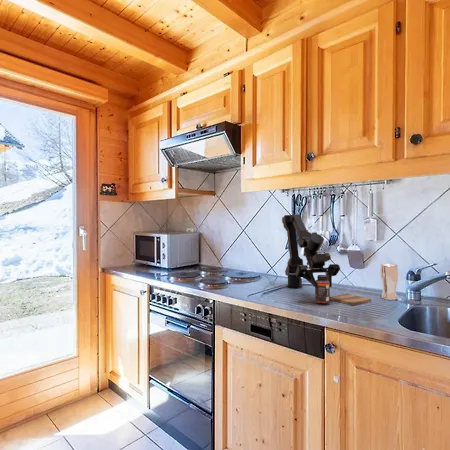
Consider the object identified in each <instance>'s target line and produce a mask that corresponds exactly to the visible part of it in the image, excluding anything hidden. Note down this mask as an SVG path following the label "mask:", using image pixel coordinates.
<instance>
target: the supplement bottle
mask: <svg viewBox="0 0 450 450" xmlns="http://www.w3.org/2000/svg"><path fill="white" fill-rule="evenodd" d="M316 277H317V279H315V281H316V283H317V288H315V287H314V298H315V299H314V300H315V302H317V303H319V304H328V303H330V301H331V300H330V297H331V289H330V288H331V287H330V282H329V281H328V280H327V275H326V274H318V275H316Z"/></svg>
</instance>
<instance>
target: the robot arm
mask: <svg viewBox="0 0 450 450" xmlns="http://www.w3.org/2000/svg"><path fill="white" fill-rule="evenodd" d="M281 223H282V226H283V228H284V229H285V231H286V232H287V234H286V235H287V243H288V244H287V245H288V252H289V253H288V254H289V258H288V261H287V263H286V264H287V265H286V268H285V270H284V275H285V276H286V277H287V285H286V288H291V289H299V288H303V285H302V283H303V281H302V280H303V279H304V280H306V281H307V282H308V283H310V284H311V285H312V286H313V287H314V289H315V288H317V283H316V279H315V276H314V274H321V273H324V275H327V280H328V281H329V282H330V288H332V286H333V282H332V281H333V279H332V277H335V276H337V275H338V273H339V271H340V270H341V266H340V265H339V264H338V263H332V264H329V265H328V267H325V266H326V262H329V261H330V260H331V259H332V258H331V253H330V252H325V253H318V251H320V249H321V247H322V245H323V243H324V241H325V239H324V236H322V235H320V234H319V233H318V232H316V231H315V232H311V231H310V232H309V231H308V230H307V228H306V225H305V223H304V222H303V219H302V215H301V214H298V213H297V214H294V213H293V214H284V216H282V218H281ZM297 236H298V237H297ZM298 246H299V247H298ZM299 248H302V249H303V248H304V249H303V254H302V255H303V257H305V258H306V259H305V260H306V261H307V262H306V264H304V260H303V258H301V257H300V255H299Z"/></svg>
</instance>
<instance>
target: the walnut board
mask: <svg viewBox="0 0 450 450" xmlns="http://www.w3.org/2000/svg"><path fill="white" fill-rule="evenodd" d="M330 301H334V302H338V303H340V304H343V305H349V306H351V307H354V306H358V305H362V304H367V303H370V302H372V299H371V298H369V297H364V296H360V295H356V294H352V293H343V294H342V293H341V294H337V295H334V296H333V295H332V296H330Z"/></svg>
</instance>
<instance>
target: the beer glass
mask: <svg viewBox="0 0 450 450" xmlns="http://www.w3.org/2000/svg"><path fill="white" fill-rule="evenodd" d="M379 272H380V273H379V274H380V280H381V287H382V294H381V298H382V299H383V300H390V301H395V300H396V301H397V300H398V296H397V286H398V280H399V269H398V264H392V263H383V264H380V271H379Z"/></svg>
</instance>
